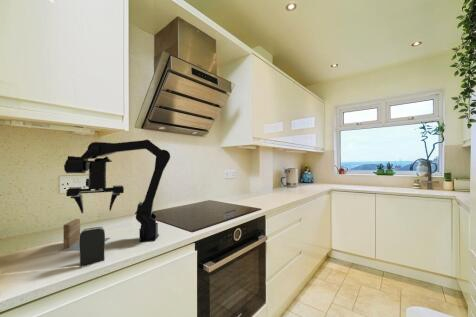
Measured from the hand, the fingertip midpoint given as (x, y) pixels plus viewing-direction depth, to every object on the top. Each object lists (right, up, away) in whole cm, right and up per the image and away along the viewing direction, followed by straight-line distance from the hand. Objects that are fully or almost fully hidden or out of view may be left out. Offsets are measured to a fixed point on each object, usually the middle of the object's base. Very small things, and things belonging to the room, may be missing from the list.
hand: (96, 211), depth 83 cm
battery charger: (+9, -13, -15) cm, 22 cm away
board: (-10, -13, 0) cm, 16 cm away
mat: (-4, -13, 0) cm, 14 cm away
